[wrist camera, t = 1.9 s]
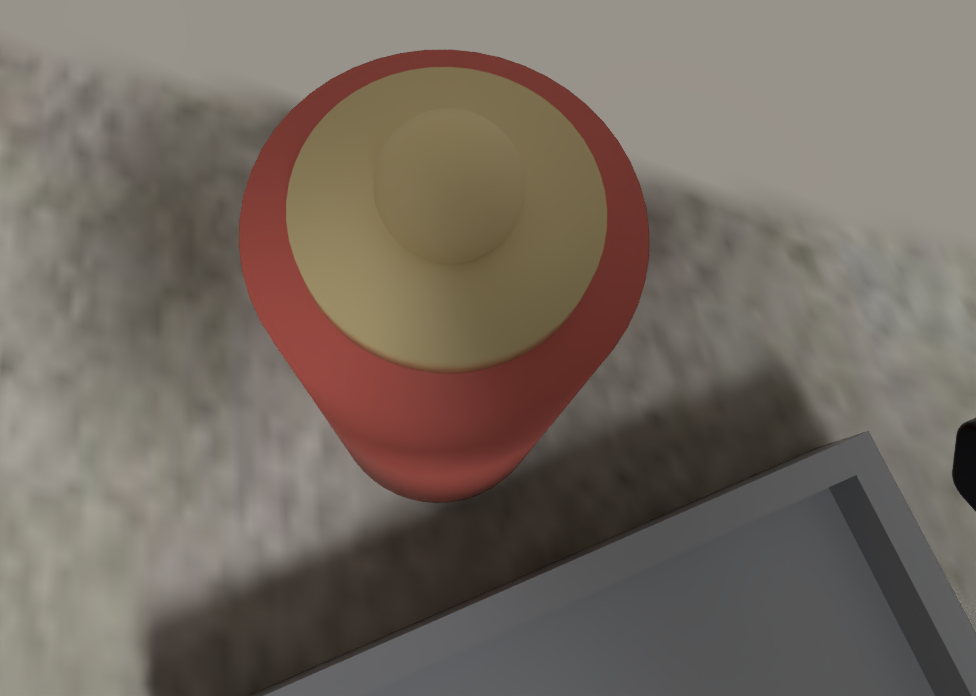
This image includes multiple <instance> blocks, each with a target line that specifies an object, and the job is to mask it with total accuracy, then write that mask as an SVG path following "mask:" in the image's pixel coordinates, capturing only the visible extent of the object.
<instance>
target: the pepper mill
mask: <svg viewBox="0 0 976 696" xmlns="http://www.w3.org/2000/svg"><path fill="white" fill-rule="evenodd" d="M239 249H240V257H241V264H242V272H243V275H244V279H245V282H246V286H247V289H248V293H249V296H250V299H251V301H252V303H253V305H254V308H255V310H256V312H257V315H258V317H259V319H260V321H261V323H262V324H263V326H264V327H265V329H266V331H267V332H268V334H269V335H270V337H271V339H272V340H273V342H274V343H275V345H276V346H277V348H278V349H279V351H280V352H281V354H282V355H283V356H284V358H285V359H286V361H287V362H288V364H289V365H290V367H291V368H292V370H293V371H294V373H295V374H296V375H297V377H298V378H299V380H300V381H301V383H302V384H303V386H304V387H305V389H306V390H307V392H308V393H309V394H310V396H311V397H312V399H313V400H314V402H315V403H316V405H317V406H318V408H319V409H320V410H321V412H322V413H323V415H324V416H325V418H326V419H327V421H328V422H329V424H330V425H331V427H332V428H333V429H334V431H335V432H336V434H337V435H338V437H339V438H340V440H341V441H342V443H343V444H344V446H345V447H346V448H347V450H348V451H349V453H350V454H351V456H352V457H353V459H354V460H355V461H356V463H357V464H358V465H359V466H360V467H361V469H362V470H363V471H364V472H365V473H366V474H367V475H368V476H369V477H371V478H372V479H373V480H374V481H375V482H377V483H378V484H380V485H381V486H383V487H384V488H386V489H388V490H390V491H392V492H393V493H395V494H397V495H400V496H403V497H406V498H409V499H413V500H418V501H422V502H434V503H442V502H454V501H459V500H464V499H467V498H470V497H473V496H476V495H479V494H481V493H483V492H485V491H487V490H489V489H491V488H492V487H494V486H495V485H497V484H498V483H500V482H501V481H502V480H504V479H505V478H506V477H507V476H508V475H509V474H510V473H512V471H513V470H514V469H515V468H516V467H517V466H518V464H519V463H520V462H521V461H522V460H523V459H524V457H525V456H526V455H527V454H528V452H529V451H530V450H531V449H532V448H533V446H534V445H535V444H536V443H537V442H538V440H539V439H540V438H541V437H542V435H543V434H544V433H545V432H546V431H547V429H548V428H549V427H550V426H551V424H552V423H553V422H554V421H555V420H556V418H557V417H558V416H559V415H560V414H561V412H562V411H563V410H564V409H565V407H566V406H567V405H568V404H569V403H570V401H571V400H572V399H573V398H574V396H575V395H576V394H577V393H578V392H579V390H580V389H581V388H582V387H583V386H584V384H585V383H586V382H587V381H588V379H589V378H590V377H591V376H592V375H593V373H594V372H595V371H596V370H597V368H598V367H599V366H600V365H601V364H602V362H603V361H604V360H605V359H606V358H607V356H608V355H609V354H610V353H611V351H612V350H613V349H614V347H615V346H616V344H617V343H618V341H619V340H620V338H621V337H622V335H623V334H624V332H625V330H626V329H627V327H628V325H629V323H630V321H631V319H632V317H633V314H634V312H635V310H636V308H637V306H638V303H639V300H640V297H641V293H642V290H643V287H644V283H645V279H646V273H647V266H648V260H649V226H648V218H647V210H646V205H645V202H644V198H643V194H642V191H641V187H640V184H639V181H638V179H637V176H636V174H635V172H634V169H633V167H632V165H631V162H630V160H629V159H628V157H627V155H626V154H625V152H624V150H623V148H622V147H621V145H620V143H619V142H618V140H617V139H616V138H615V137H614V135H613V134H612V132H611V131H610V130H609V128H608V127H607V126H606V125H605V123H604V122H603V121H602V120H601V119H600V118H599V117H598V116H597V115H596V114H595V113H594V112H593V111H592V110H591V109H590V108H589V107H588V106H587V105H586V104H585V103H584V102H582V101H581V100H580V99H579V98H578V97H576V96H575V95H574V94H573V93H571V92H570V91H569V90H567V89H566V88H564V87H563V86H561V85H560V84H558V83H556V82H555V81H553V80H552V79H550V78H548V77H547V76H545V75H543V74H540V73H538V72H536V71H534V70H532V69H530V68H528V67H526V66H523V65H520V64H518V63H515V62H512V61H509V60H506V59H503V58H500V57H495V56H490V55H486V54H481V53H476V52H468V51H458V50H422V51H415V52H407V53H400V54H396V55H392V56H387V57H384V58H379V59H376V60H373V61H370V62H368V63H365V64H362V65H360V66H357V67H354V68H352V69H350V70H348V71H346V72H344V73H343V74H340V75H338V76H336V77H334V78H333V79H331V80H329V81H328V82H326V83H325V84H323V85H322V86H320V87H319V88H317V89H316V90H315V91H313V92H312V93H310V94H309V95H308V96H307V97H306V98H305V99H303V100H302V101H301V102H300V103H299V104H298V105H297V106H296V107H294V108H293V109H292V110H291V111H290V112H289V114H288V115H287V116H286V117H285V118H284V119H283V120H282V122H281V123H280V124H279V125H278V126H277V127H276V129H275V130H274V131H273V133H272V135H271V136H270V138H269V139H268V141H267V142H266V144H265V145H264V147H263V148H262V150H261V152H260V154H259V156H258V158H257V160H256V162H255V165H254V167H253V169H252V171H251V174H250V177H249V180H248V183H247V186H246V189H245V193H244V196H243V202H242V208H241V214H240V223H239Z"/></svg>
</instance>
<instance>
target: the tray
mask: <svg viewBox="0 0 976 696" xmlns="http://www.w3.org/2000/svg"><path fill="white" fill-rule="evenodd" d="M249 696H976V632H975V631H974V629H973V627H972V625H971V623H970V621H969V619H968V617H967V616H966V614H965V612H964V610H963V608H962V606H961V604H960V602H959V601H958V599H957V597H956V595H955V593H954V591H953V589H952V587H951V585H950V584H949V582H948V580H947V578H946V576H945V574H944V572H943V570H942V569H941V567H940V565H939V563H938V561H937V559H936V557H935V555H934V554H933V552H932V550H931V548H930V546H929V544H928V542H927V540H926V538H925V537H924V535H923V533H922V531H921V529H920V527H919V525H918V523H917V522H916V520H915V518H914V516H913V514H912V512H911V510H910V508H909V506H908V505H907V503H906V501H905V499H904V497H903V495H902V493H901V491H900V490H899V488H898V486H897V484H896V482H895V480H894V478H893V476H892V475H891V473H890V471H889V469H888V467H887V465H886V463H885V461H884V459H883V458H882V456H881V454H880V452H879V450H878V448H877V446H876V444H875V443H874V441H873V439H872V437H871V435H870V433H869V431H867V432H864V433H861V434H858V435H855V436H852V437H849V438H845V439H842V440H839V441H836V442H833V443H830V444H827V445H824V446H821V447H818V448H816V449H813V450H811V451H809V452H806V453H804V454H802V455H800V456H797V457H795V458H793V459H790V460H788V461H786V462H784V463H781V464H779V465H777V466H774V467H772V468H770V469H767V470H765V471H763V472H761V473H758V474H756V475H754V476H751V477H749V478H747V479H745V480H742V481H740V482H738V483H735V484H733V485H731V486H728V487H726V488H724V489H722V490H719V491H717V492H715V493H712V494H710V495H708V496H706V497H703V498H701V499H699V500H696V501H694V502H692V503H689V504H687V505H685V506H683V507H680V508H678V509H676V510H673V511H671V512H669V513H667V514H664V515H662V516H660V517H657V518H655V519H653V520H651V521H648V522H646V523H644V524H641V525H639V526H637V527H634V528H632V529H630V530H628V531H625V532H623V533H621V534H618V535H616V536H614V537H612V538H609V539H607V540H605V541H602V542H600V543H598V544H595V545H593V546H591V547H589V548H586V549H584V550H582V551H579V552H577V553H575V554H573V555H570V556H568V557H566V558H563V559H561V560H559V561H556V562H554V563H552V564H550V565H547V566H545V567H543V568H540V569H538V570H536V571H534V572H531V573H529V574H527V575H524V576H522V577H520V578H518V579H515V580H513V581H511V582H508V583H506V584H504V585H501V586H499V587H497V588H495V589H492V590H490V591H488V592H485V593H483V594H481V595H479V596H476V597H474V598H472V599H469V600H467V601H465V602H462V603H460V604H458V605H456V606H453V607H451V608H449V609H446V610H444V611H442V612H440V613H437V614H435V615H433V616H430V617H428V618H426V619H423V620H421V621H419V622H417V623H414V624H412V625H410V626H407V627H405V628H403V629H401V630H398V631H396V632H394V633H391V634H389V635H387V636H384V637H382V638H380V639H378V640H375V641H373V642H371V643H368V644H366V645H364V646H362V647H359V648H357V649H355V650H352V651H350V652H348V653H346V654H343V655H341V656H339V657H336V658H334V659H332V660H329V661H327V662H325V663H323V664H320V665H318V666H316V667H313V668H311V669H309V670H307V671H304V672H302V673H300V674H297V675H295V676H293V677H290V678H288V679H286V680H284V681H281V682H279V683H277V684H274V685H272V686H270V687H268V688H265V689H263V690H261V691H258V692H256V693H254V694H251V695H249Z"/></svg>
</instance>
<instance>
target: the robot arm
mask: <svg viewBox="0 0 976 696" xmlns="http://www.w3.org/2000/svg"><path fill="white" fill-rule="evenodd" d="M952 477H953V481H954V484H955V486H956V488H957V490H958V491H959V493H960V494H961V496H962V497H963V498H964V499H965V500H966V501H967V502H968V503H969V505H970V506H971V507H972V508H973V509H974V510H975V511H976V418H974V419H972V420H969V421H967V422H965V423H963V424H962V425H961V426H960V427H959V429H958V431H957V435H956V444H955V452H954V461H953V470H952Z"/></svg>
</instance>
